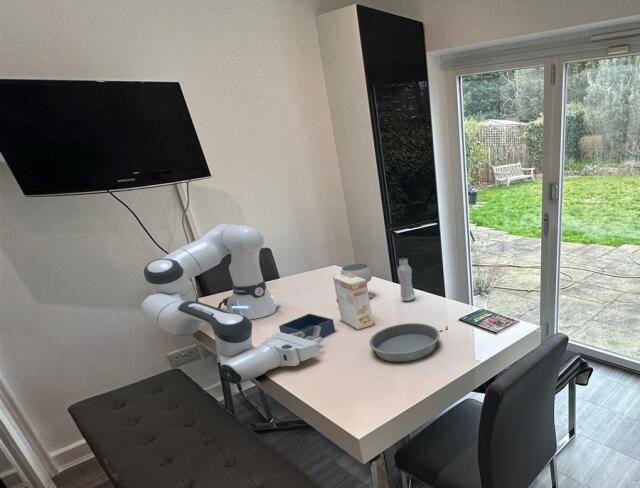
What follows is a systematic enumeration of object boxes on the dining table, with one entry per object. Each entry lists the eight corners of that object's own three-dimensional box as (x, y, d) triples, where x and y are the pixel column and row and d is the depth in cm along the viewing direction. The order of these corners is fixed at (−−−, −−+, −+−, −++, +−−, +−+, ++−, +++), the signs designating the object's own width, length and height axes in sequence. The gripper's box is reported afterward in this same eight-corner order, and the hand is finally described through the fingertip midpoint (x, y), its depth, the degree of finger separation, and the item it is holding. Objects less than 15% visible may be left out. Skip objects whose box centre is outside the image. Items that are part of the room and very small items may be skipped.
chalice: (347, 304, 189) (341, 273, 183) (342, 295, 201) (337, 266, 195) (378, 298, 196) (373, 268, 190) (371, 290, 207) (367, 261, 201)
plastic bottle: (418, 299, 195) (413, 258, 187) (407, 303, 189) (402, 261, 181) (408, 296, 198) (403, 256, 190) (398, 301, 193) (392, 259, 185)
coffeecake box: (374, 324, 168) (366, 279, 160) (357, 330, 163) (349, 283, 155) (356, 315, 177) (348, 272, 169) (340, 320, 172) (331, 276, 165)
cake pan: (383, 333, 160) (382, 322, 158) (445, 333, 159) (444, 322, 158) (360, 364, 138) (358, 352, 136) (432, 365, 137) (431, 353, 135)
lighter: (307, 352, 146) (302, 332, 142) (304, 351, 147) (299, 331, 143) (325, 345, 151) (320, 325, 148) (322, 344, 152) (317, 324, 149)
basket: (282, 338, 157) (278, 325, 155) (312, 325, 168) (309, 313, 166) (305, 345, 151) (302, 332, 149) (335, 331, 162) (332, 319, 160)
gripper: (259, 354, 141) (294, 338, 152) (299, 367, 133) (333, 349, 144) (254, 338, 139) (290, 323, 150) (294, 350, 130) (329, 333, 141)
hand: (312, 336), depth 147 cm, fingers open, 8 cm apart
